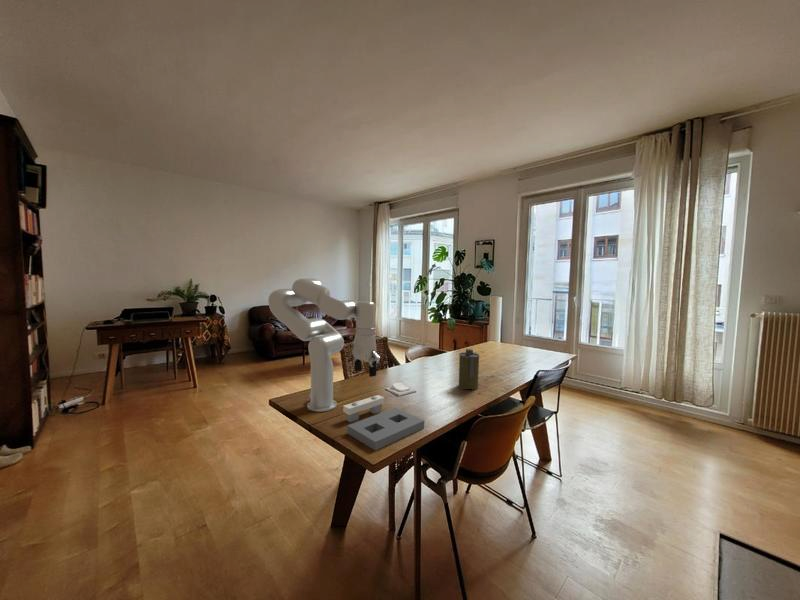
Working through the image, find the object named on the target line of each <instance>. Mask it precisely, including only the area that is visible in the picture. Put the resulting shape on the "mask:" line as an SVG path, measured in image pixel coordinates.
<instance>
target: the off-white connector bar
mask: <svg viewBox="0 0 800 600" xmlns="http://www.w3.org/2000/svg"><path fill="white" fill-rule="evenodd" d="M384 404H385V396H382V395H379V394H377V395H373V396H370V397H368V398H364V399H362V400H361V399H360V400H357V401H353V402H352V403H348V404H345V405H342V407H343V409H342V412H343V413H344V414H345V420H346V421H347V422H348V423H350V424H352V423H355V422H357V421H360V412H362V411H365V410H369V412H370V413H371V414H373V415H377V414H380V413H382V412H381V411H382V405H384Z"/></svg>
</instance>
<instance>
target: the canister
mask: <svg viewBox="0 0 800 600" xmlns="http://www.w3.org/2000/svg"><path fill="white" fill-rule="evenodd" d="M458 356H459V360H458V361H459V363H458V364H459V366H458V367H459V368H458V388H459V387H460V389H461V388H463V389H462V390H464V389H472V390H471V391H474V390H473V389H476V390H478V389H479V366H480V354H478V353H475V352H474V350H473V349H471V348H465V351H464V352H460V353H459V355H458ZM477 388H478V389H477Z"/></svg>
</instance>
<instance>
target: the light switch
mask: <svg viewBox="0 0 800 600" xmlns="http://www.w3.org/2000/svg"><path fill="white" fill-rule="evenodd" d="M385 389H387V390H388V392H389V391H390V392H389V393H391V392H392V393H391V394H393V393H394V394H393V395H395V394H396V395H395V396H397V395H398V396H397V397H401V395H402V396H405V395H410V394H414V393H417V390H416V389H415V388H412V387H409V386H407V385H404V383H402V382H395V383H392V384H391V386H389V387H385V388H384V390H385ZM387 390H386V391H387Z"/></svg>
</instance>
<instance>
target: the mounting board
mask: <svg viewBox="0 0 800 600" xmlns="http://www.w3.org/2000/svg"><path fill="white" fill-rule="evenodd" d="M399 421H400V422H399ZM346 427H347V430H346V431H347V433H346V434H348V435H349V436H351V437H352V438H353V439H356V440H357V441H359V442H361V443H362V444H363V445H365V446H366V447H369V448H370V449H372V450H373V451H378V450H380V449H382V448H385V447H386V445H387V446H390V445H391V444H393V443H395V442H397V440H398V441H399V439H400V440H401V438H402V439H404V438H406V437H408V436H411V435H413V434H414V433H417V432H419V431H422V430H423V429H425V420H424V419H422V418H419V417H417V416H415V415H412V414H410V413H407V412H406V411H403V410H401V409H399V408H396V407H395V408H392V409H387V410H386V411H383V412H379V413H376V414H374V415H373V416H369V417H367V418H364V419H361V420H357V421H354V422H352V423H350V424H348V425H347V426H346ZM412 433H413V434H412ZM410 434H411V435H410ZM403 437H404V438H403Z"/></svg>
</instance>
